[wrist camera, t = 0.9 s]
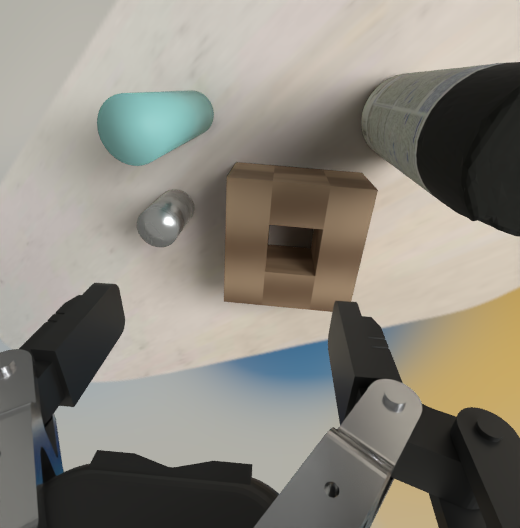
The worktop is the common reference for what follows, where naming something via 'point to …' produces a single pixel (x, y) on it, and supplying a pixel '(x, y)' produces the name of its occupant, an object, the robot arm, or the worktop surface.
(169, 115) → the long pin
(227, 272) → the socket block
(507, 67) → the spray can
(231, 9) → the worktop surface
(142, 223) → the short pin
